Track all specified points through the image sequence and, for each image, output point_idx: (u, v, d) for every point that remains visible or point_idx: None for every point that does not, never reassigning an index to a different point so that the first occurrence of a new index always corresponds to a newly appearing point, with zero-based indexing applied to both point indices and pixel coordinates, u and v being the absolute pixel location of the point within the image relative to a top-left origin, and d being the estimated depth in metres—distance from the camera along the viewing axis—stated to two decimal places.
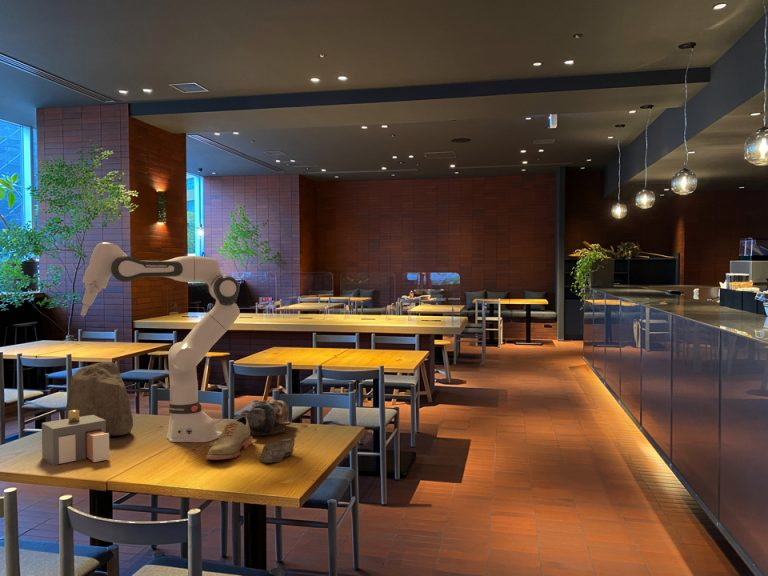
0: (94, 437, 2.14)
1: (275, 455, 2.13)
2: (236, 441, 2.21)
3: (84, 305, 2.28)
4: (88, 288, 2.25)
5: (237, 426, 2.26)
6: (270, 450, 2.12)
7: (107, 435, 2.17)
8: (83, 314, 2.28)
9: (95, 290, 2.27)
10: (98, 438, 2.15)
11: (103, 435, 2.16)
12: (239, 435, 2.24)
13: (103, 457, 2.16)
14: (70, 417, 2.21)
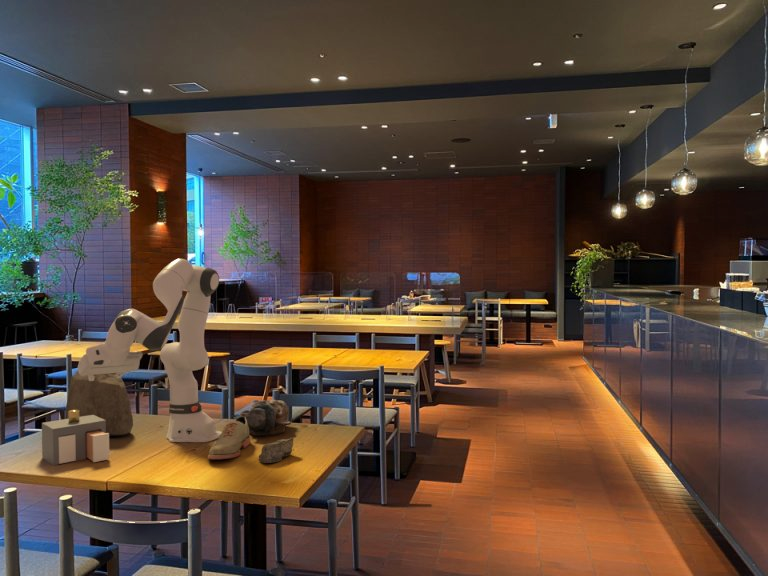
0: (94, 437, 2.14)
1: (274, 455, 2.13)
2: (237, 441, 2.21)
3: None
4: (139, 359, 2.18)
5: (237, 426, 2.27)
6: (269, 450, 2.12)
7: (107, 435, 2.17)
8: None
9: None
10: (98, 438, 2.15)
11: (103, 435, 2.16)
12: (239, 435, 2.25)
13: (103, 457, 2.16)
14: (70, 417, 2.21)
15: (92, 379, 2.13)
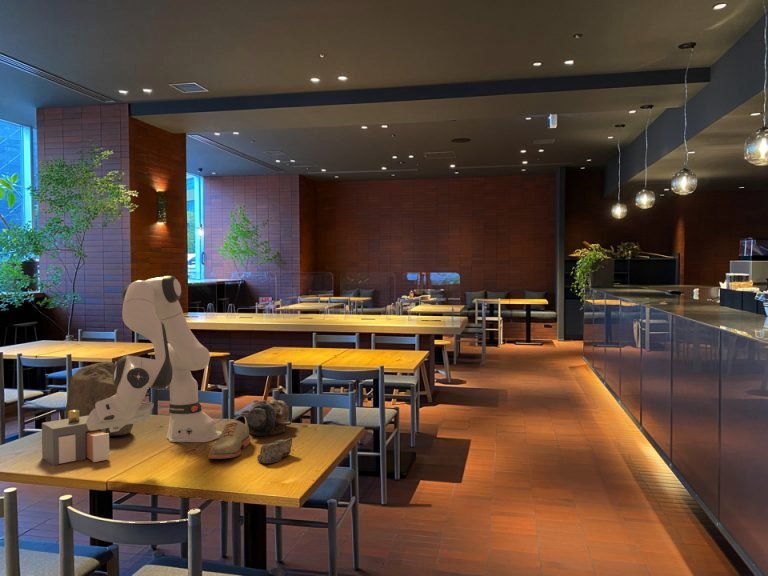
0: (94, 437, 2.14)
1: (273, 455, 2.13)
2: (237, 440, 2.22)
3: None
4: (150, 410, 2.08)
5: (237, 425, 2.27)
6: (268, 451, 2.12)
7: (107, 435, 2.17)
8: None
9: None
10: (98, 438, 2.15)
11: (103, 435, 2.16)
12: (240, 434, 2.26)
13: (103, 457, 2.16)
14: (70, 417, 2.21)
15: (113, 430, 2.06)
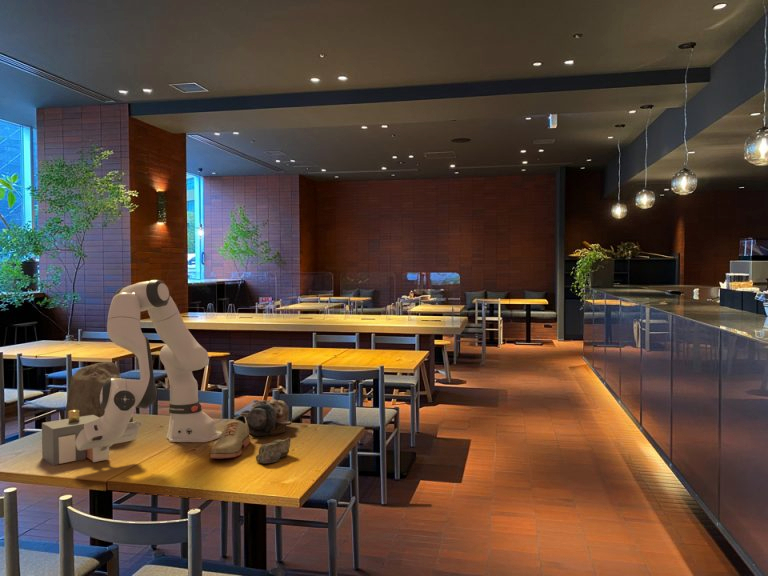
0: None
1: (272, 455, 2.12)
2: (238, 440, 2.23)
3: None
4: (137, 429, 2.16)
5: (238, 425, 2.28)
6: (267, 451, 2.11)
7: None
8: None
9: None
10: None
11: None
12: (241, 434, 2.26)
13: (103, 457, 2.16)
14: (70, 417, 2.21)
15: (102, 449, 2.14)
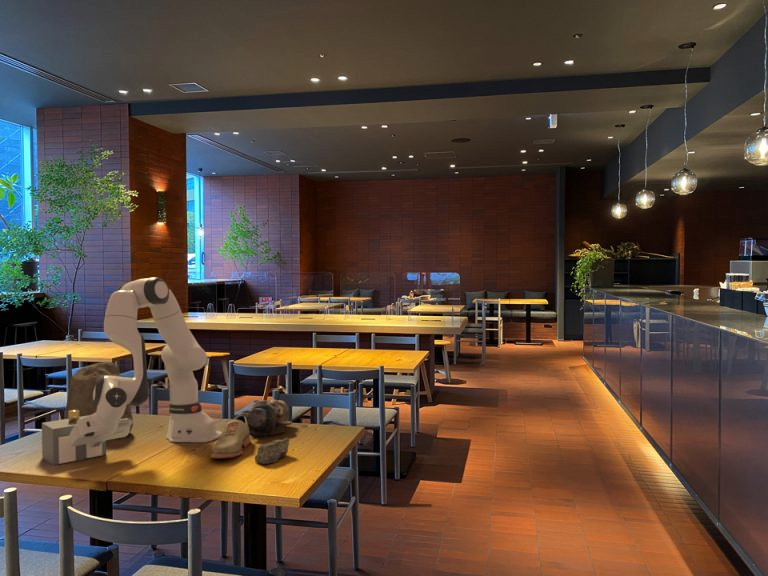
0: None
1: (271, 456, 2.12)
2: (239, 439, 2.23)
3: None
4: (129, 426, 2.21)
5: (238, 425, 2.28)
6: (266, 451, 2.11)
7: None
8: None
9: None
10: None
11: None
12: (241, 433, 2.27)
13: (96, 453, 2.21)
14: (70, 417, 2.21)
15: (95, 445, 2.19)
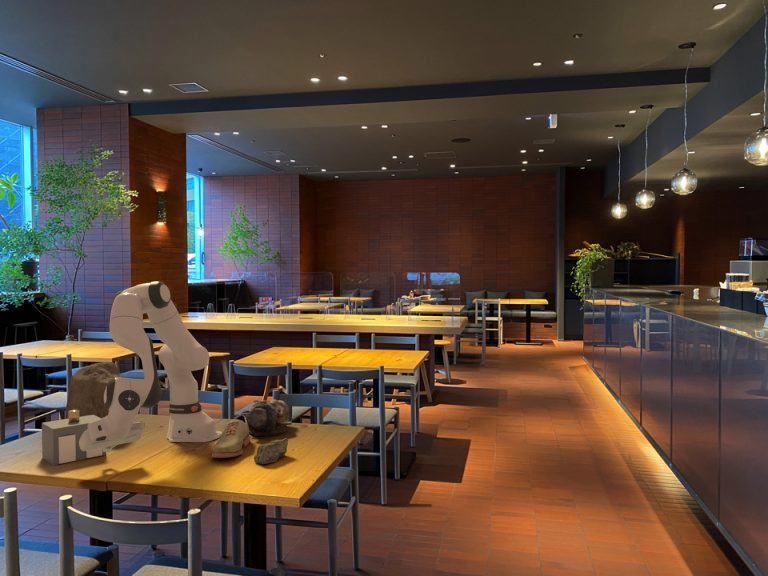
0: None
1: (271, 456, 2.12)
2: (239, 439, 2.23)
3: None
4: (142, 430, 2.12)
5: (239, 424, 2.29)
6: (266, 451, 2.11)
7: None
8: None
9: None
10: None
11: None
12: (241, 433, 2.27)
13: (96, 453, 2.21)
14: (70, 417, 2.21)
15: (106, 450, 2.10)
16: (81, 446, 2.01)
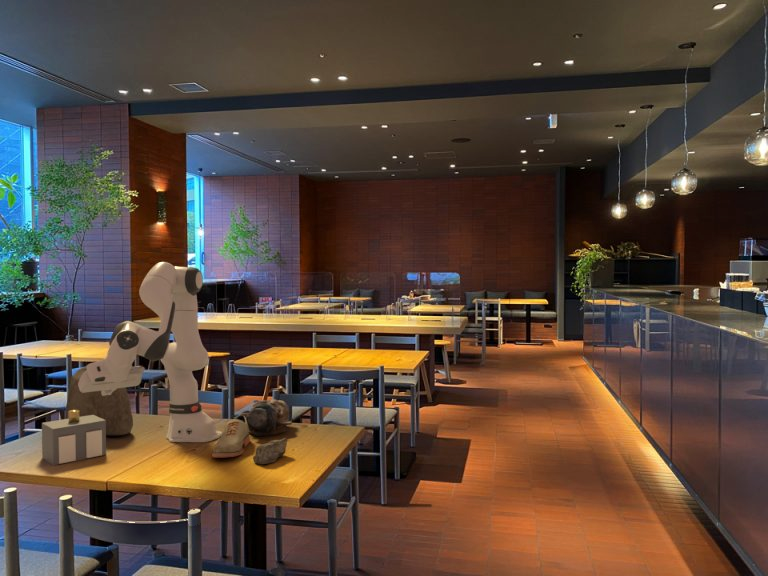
0: (87, 433, 2.19)
1: (270, 456, 2.12)
2: (240, 439, 2.24)
3: None
4: (141, 374, 2.12)
5: (239, 424, 2.29)
6: (265, 451, 2.11)
7: (100, 432, 2.22)
8: None
9: None
10: (91, 434, 2.20)
11: (96, 432, 2.21)
12: (242, 433, 2.27)
13: (96, 453, 2.21)
14: (70, 417, 2.21)
15: (105, 394, 2.10)
16: (80, 387, 2.01)
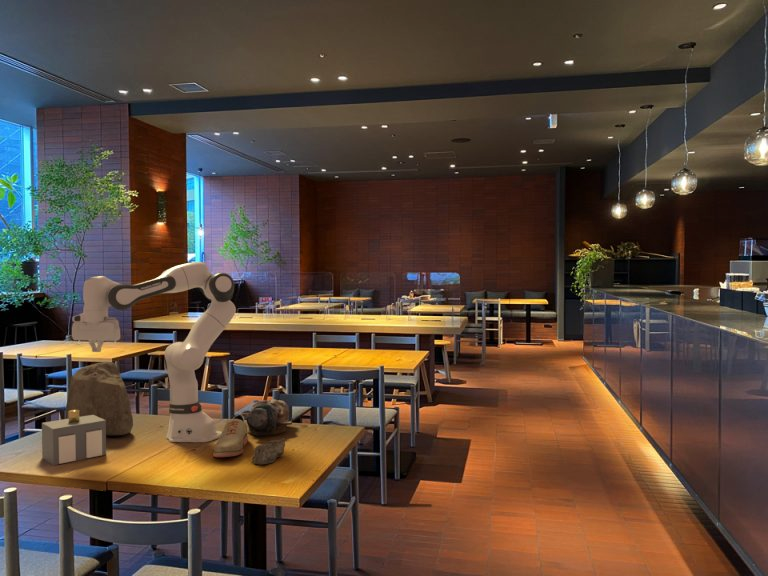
0: (87, 433, 2.19)
1: (269, 456, 2.12)
2: (240, 438, 2.25)
3: (100, 342, 2.35)
4: (113, 325, 2.33)
5: (239, 424, 2.30)
6: (264, 451, 2.10)
7: (100, 432, 2.22)
8: (99, 350, 2.37)
9: None
10: (91, 434, 2.20)
11: (96, 432, 2.21)
12: (242, 432, 2.28)
13: (96, 453, 2.21)
14: (70, 417, 2.21)
15: (93, 349, 2.36)
16: None
